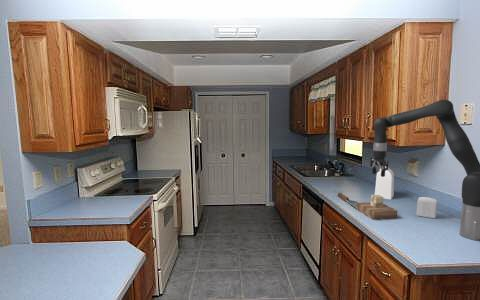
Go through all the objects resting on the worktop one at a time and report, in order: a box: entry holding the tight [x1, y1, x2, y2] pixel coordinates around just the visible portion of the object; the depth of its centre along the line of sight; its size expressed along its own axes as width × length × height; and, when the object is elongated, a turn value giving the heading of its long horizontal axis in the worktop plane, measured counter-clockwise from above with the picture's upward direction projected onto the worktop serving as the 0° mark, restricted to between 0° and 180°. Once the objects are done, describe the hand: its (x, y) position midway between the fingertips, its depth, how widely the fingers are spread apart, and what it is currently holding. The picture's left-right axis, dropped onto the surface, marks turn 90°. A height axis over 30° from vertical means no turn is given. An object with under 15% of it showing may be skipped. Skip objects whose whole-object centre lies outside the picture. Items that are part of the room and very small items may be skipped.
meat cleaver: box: [337, 192, 359, 210], centre depth 202 cm, size 34×11×4 cm, turn 3°
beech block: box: [370, 194, 384, 208], centre depth 178 cm, size 5×5×7 cm
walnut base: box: [356, 201, 399, 221], centre depth 178 cm, size 18×16×5 cm
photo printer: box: [415, 196, 438, 219], centre depth 173 cm, size 10×4×12 cm, turn 60°
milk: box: [374, 166, 395, 200], centre depth 216 cm, size 12×12×26 cm
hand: (378, 175), depth 176 cm, fingers open, 8 cm apart
